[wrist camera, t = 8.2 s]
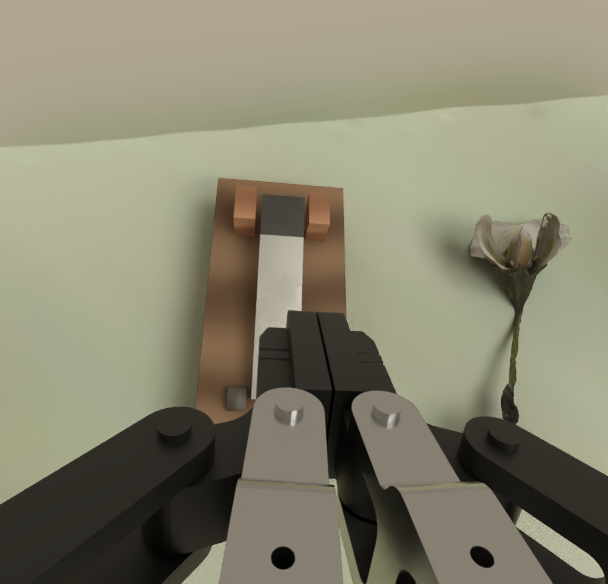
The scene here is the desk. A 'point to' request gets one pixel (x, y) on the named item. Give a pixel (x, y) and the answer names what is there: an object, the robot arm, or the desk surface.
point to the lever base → (244, 277)
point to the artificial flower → (518, 270)
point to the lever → (278, 266)
